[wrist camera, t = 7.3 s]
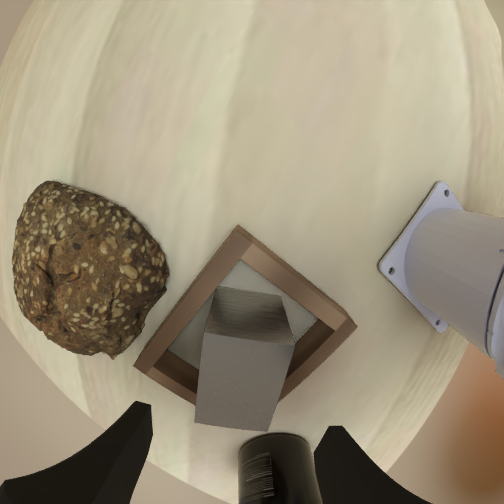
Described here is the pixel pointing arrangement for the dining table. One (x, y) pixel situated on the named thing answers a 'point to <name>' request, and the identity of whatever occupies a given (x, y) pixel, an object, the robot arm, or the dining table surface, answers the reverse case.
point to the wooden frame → (234, 248)
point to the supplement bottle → (277, 472)
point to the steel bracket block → (243, 360)
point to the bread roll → (85, 270)
